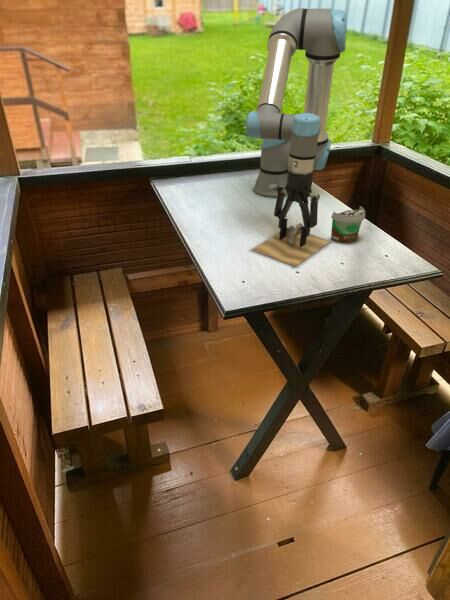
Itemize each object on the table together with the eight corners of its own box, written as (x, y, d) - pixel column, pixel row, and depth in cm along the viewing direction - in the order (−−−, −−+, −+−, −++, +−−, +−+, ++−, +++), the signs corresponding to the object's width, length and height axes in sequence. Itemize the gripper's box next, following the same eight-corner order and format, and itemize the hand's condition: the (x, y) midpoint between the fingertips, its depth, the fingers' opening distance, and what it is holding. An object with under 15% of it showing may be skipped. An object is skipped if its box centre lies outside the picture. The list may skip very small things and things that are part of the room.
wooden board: (288, 228, 155) (289, 227, 155) (329, 241, 147) (330, 241, 146) (252, 250, 140) (252, 249, 140) (295, 266, 132) (295, 266, 132)
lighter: (285, 239, 146) (287, 216, 141) (289, 238, 146) (292, 215, 142) (296, 248, 140) (298, 225, 136) (300, 247, 141) (303, 224, 137)
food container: (339, 247, 143) (344, 219, 138) (327, 240, 148) (332, 212, 142) (368, 240, 148) (374, 212, 142) (355, 233, 152) (361, 205, 147)
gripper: (265, 166, 132) (260, 236, 145) (324, 182, 122) (313, 255, 135) (279, 161, 137) (273, 229, 150) (337, 175, 127) (325, 247, 140)
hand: (292, 241), depth 143 cm, fingers closed on lighter, 7 cm apart
